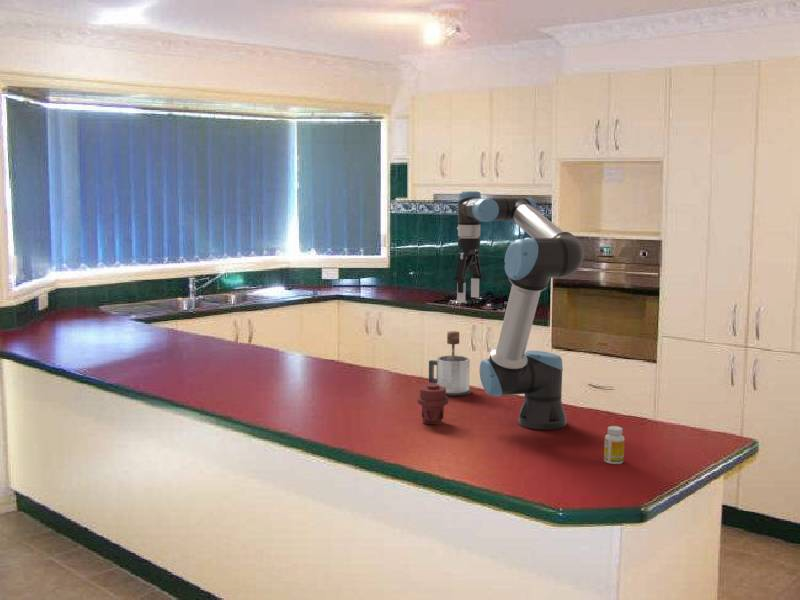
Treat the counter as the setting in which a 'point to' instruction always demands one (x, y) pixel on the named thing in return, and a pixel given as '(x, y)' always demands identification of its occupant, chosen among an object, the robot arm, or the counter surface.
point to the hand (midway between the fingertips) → (468, 299)
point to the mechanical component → (432, 403)
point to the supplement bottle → (614, 445)
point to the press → (451, 374)
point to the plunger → (453, 341)
